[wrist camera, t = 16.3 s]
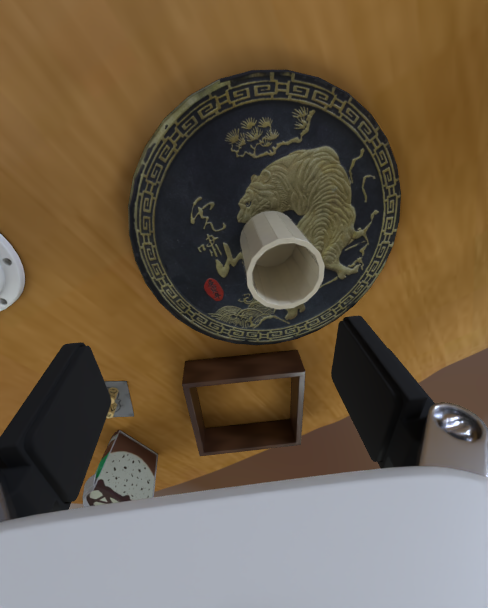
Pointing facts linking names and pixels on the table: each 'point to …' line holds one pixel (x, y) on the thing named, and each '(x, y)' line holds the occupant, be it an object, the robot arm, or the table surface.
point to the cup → (279, 261)
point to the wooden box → (244, 371)
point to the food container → (122, 473)
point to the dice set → (119, 399)
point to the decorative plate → (262, 200)
